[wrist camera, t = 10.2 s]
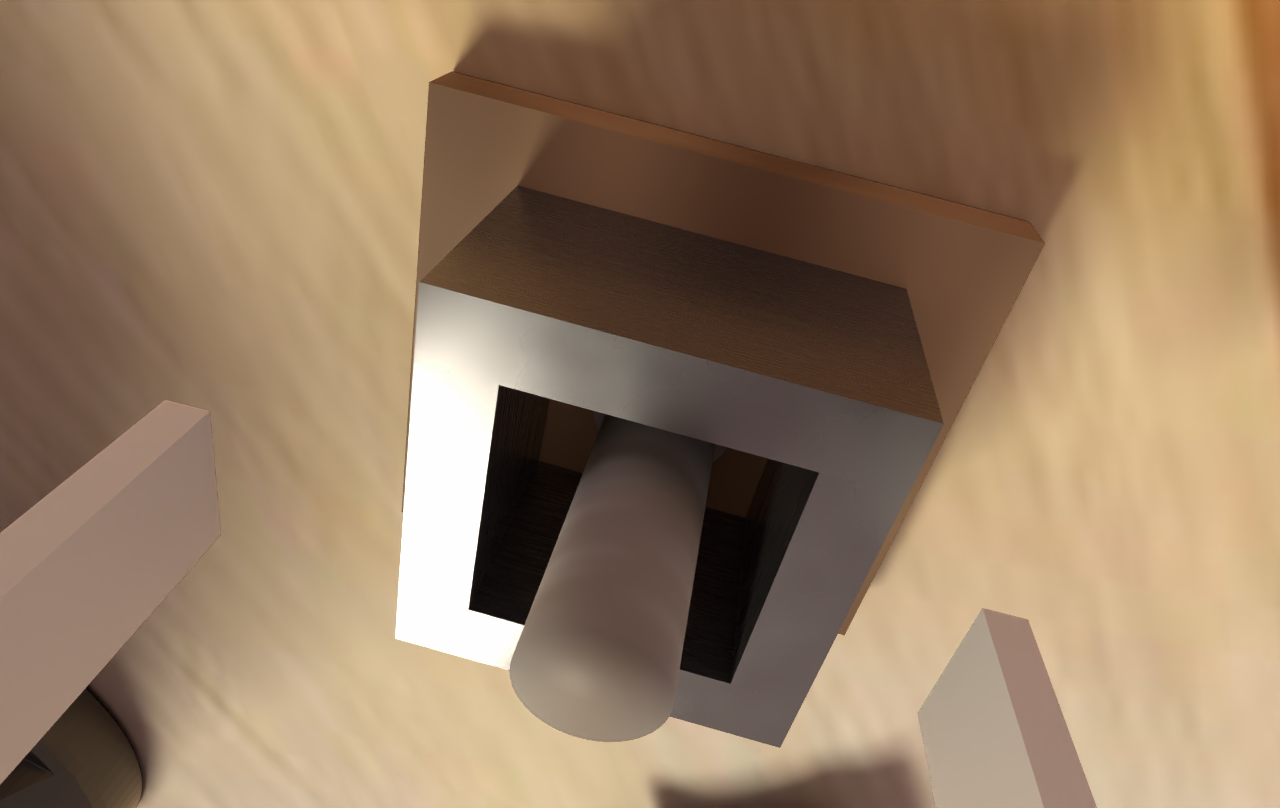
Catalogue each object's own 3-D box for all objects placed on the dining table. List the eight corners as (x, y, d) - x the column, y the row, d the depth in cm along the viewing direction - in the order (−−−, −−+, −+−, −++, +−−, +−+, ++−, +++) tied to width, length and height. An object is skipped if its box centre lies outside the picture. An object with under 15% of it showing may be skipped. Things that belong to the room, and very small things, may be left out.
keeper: (419, 484, 23) (219, 787, 15) (451, 71, 17) (145, 215, 9) (842, 601, 22) (864, 976, 14) (1029, 221, 16) (1238, 510, 8)
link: (478, 488, 21) (395, 638, 16) (517, 185, 16) (419, 282, 12) (784, 574, 20) (780, 747, 16) (906, 289, 16) (944, 423, 12)
